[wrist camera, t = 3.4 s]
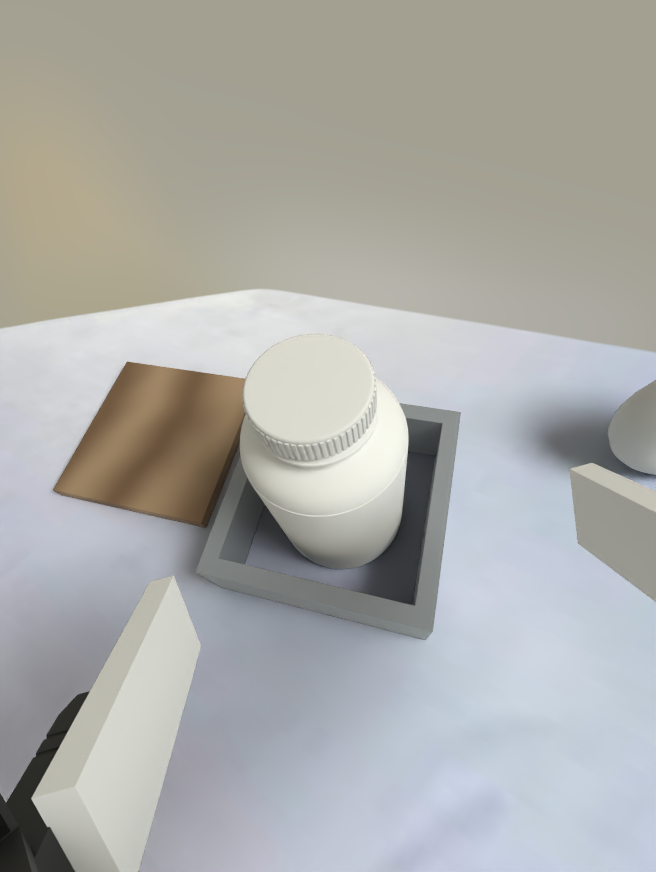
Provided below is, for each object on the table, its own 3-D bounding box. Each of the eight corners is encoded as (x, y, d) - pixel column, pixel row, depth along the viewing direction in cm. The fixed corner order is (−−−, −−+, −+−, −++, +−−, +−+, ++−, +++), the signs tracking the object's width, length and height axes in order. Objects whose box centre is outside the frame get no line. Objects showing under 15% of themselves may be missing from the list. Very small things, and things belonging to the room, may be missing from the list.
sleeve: (221, 587, 28) (195, 571, 24) (280, 418, 34) (266, 384, 30) (425, 639, 26) (432, 631, 22) (451, 445, 32) (460, 412, 28)
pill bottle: (261, 516, 31) (170, 391, 18) (341, 440, 33) (313, 279, 20) (342, 600, 27) (305, 523, 14) (426, 509, 29) (460, 371, 16)
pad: (61, 494, 33) (52, 489, 32) (132, 369, 39) (127, 361, 38) (206, 527, 31) (201, 523, 30) (260, 387, 36) (257, 380, 35)
